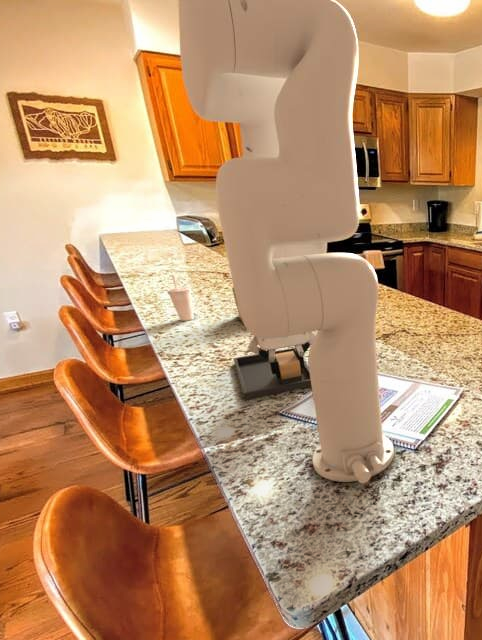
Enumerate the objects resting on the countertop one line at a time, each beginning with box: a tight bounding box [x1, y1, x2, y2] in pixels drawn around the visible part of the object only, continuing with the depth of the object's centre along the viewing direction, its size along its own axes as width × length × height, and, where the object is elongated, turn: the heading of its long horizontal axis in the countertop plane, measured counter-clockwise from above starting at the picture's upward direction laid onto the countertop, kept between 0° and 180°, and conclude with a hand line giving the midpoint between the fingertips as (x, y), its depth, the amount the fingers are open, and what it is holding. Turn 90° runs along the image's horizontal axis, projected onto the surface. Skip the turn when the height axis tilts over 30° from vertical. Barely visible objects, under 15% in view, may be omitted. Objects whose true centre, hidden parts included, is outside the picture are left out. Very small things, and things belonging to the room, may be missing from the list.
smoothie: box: [166, 274, 195, 322], centre depth 133 cm, size 6×6×14 cm
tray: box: [233, 347, 312, 402], centre depth 95 cm, size 21×14×2 cm
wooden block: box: [275, 351, 302, 384], centre depth 93 cm, size 7×4×4 cm, turn 30°
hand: (289, 373), depth 94 cm, fingers closed on wooden block, 4 cm apart
